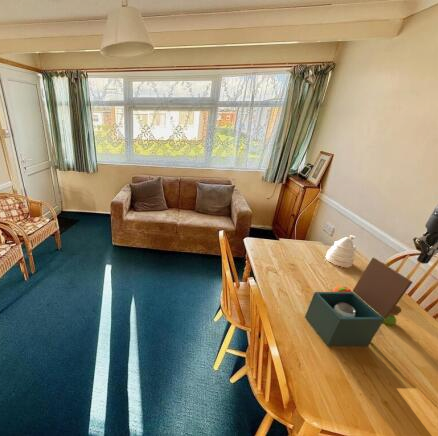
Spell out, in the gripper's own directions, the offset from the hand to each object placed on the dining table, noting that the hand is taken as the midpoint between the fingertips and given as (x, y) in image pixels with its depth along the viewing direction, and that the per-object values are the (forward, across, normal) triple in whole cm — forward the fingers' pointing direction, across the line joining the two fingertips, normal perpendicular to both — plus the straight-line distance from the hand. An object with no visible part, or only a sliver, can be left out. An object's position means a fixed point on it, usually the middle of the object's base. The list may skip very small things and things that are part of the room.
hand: (422, 262), depth 80 cm
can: (+34, -19, 0) cm, 39 cm away
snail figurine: (+35, +5, +4) cm, 35 cm away
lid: (+11, -11, 0) cm, 16 cm away
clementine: (+35, -3, +18) cm, 39 cm away
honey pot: (+35, +20, +49) cm, 63 cm away
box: (+35, -19, 0) cm, 40 cm away
